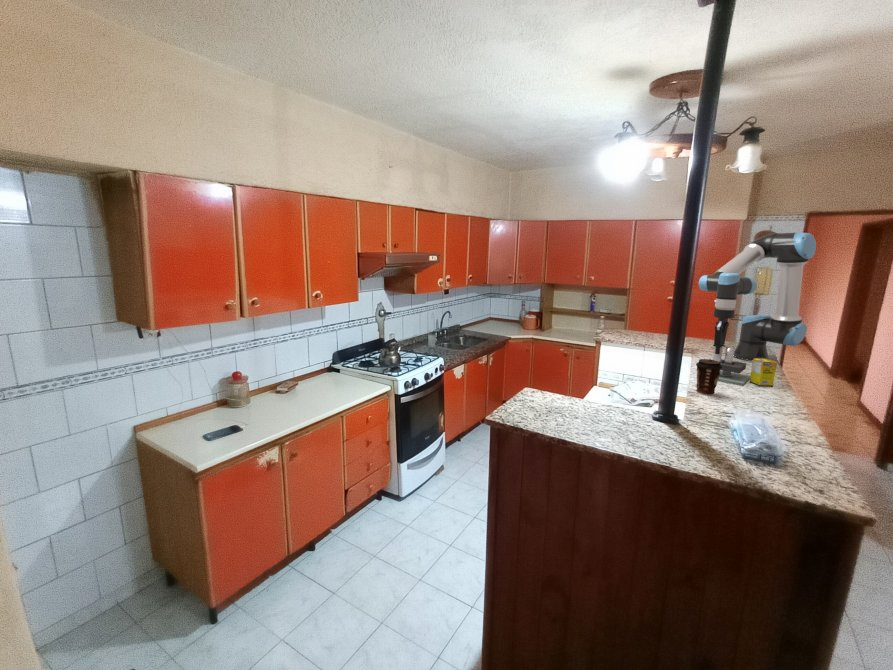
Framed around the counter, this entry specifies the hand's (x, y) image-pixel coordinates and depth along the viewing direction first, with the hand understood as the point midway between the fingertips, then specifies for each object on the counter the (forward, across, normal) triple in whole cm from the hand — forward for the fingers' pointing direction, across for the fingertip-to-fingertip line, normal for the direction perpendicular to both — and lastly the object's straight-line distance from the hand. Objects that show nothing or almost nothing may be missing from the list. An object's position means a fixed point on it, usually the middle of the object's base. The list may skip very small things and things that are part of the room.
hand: (716, 360), depth 189 cm
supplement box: (+7, 0, +17) cm, 19 cm away
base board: (+7, 0, +4) cm, 8 cm away
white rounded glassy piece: (+6, 0, +4) cm, 7 cm away
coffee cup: (+8, +29, +4) cm, 30 cm away
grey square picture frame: (+3, 0, +4) cm, 5 cm away
